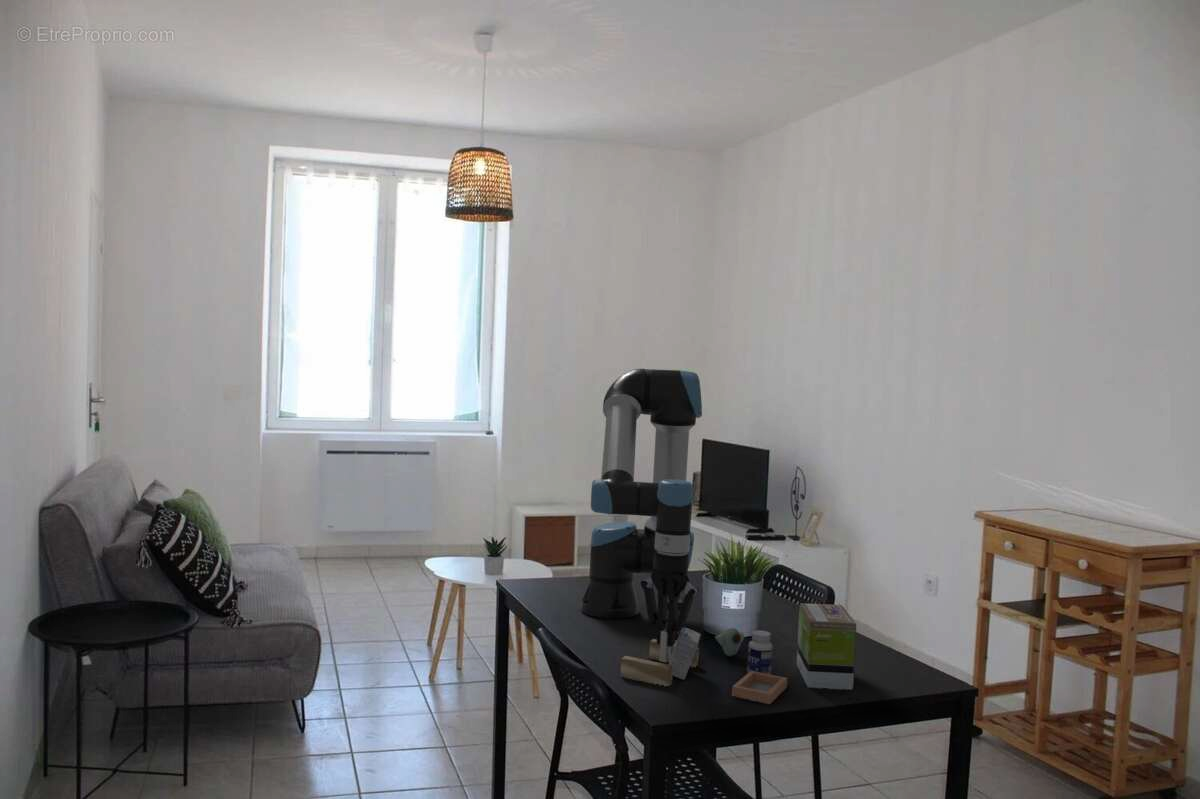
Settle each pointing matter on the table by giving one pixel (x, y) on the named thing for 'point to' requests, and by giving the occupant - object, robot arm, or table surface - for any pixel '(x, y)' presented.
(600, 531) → the robot arm
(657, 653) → the parallel beige slabs
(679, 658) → the medicine box
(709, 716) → the table surface
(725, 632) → the pale green rounded piece
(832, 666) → the tea box
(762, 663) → the pill bottle
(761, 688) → the tray
